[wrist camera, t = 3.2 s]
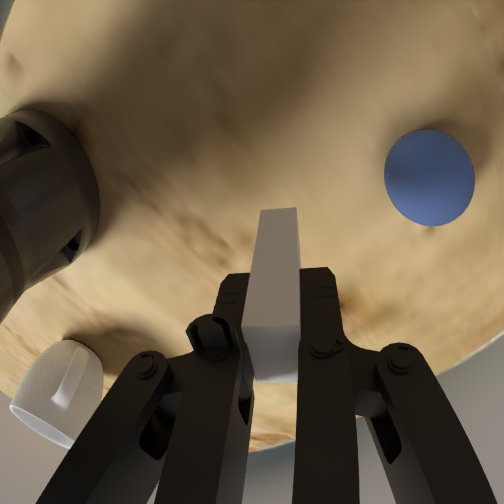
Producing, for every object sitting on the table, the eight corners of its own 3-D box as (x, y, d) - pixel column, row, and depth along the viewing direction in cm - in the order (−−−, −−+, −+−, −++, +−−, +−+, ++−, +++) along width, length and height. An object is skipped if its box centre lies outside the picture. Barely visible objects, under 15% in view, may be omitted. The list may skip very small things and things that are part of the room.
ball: (373, 201, 21) (397, 248, 16) (372, 119, 18) (404, 143, 13) (444, 198, 20) (481, 241, 15) (450, 121, 17) (498, 148, 12)
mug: (60, 300, 31) (6, 388, 20) (137, 350, 34) (101, 446, 24) (45, 347, 38) (9, 414, 28) (104, 384, 42) (76, 455, 31)
